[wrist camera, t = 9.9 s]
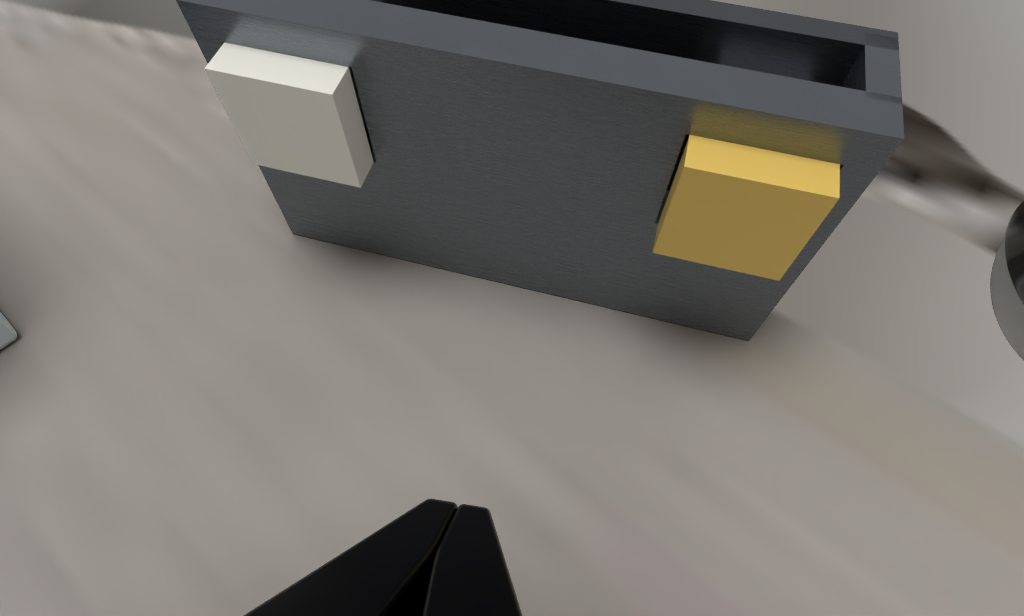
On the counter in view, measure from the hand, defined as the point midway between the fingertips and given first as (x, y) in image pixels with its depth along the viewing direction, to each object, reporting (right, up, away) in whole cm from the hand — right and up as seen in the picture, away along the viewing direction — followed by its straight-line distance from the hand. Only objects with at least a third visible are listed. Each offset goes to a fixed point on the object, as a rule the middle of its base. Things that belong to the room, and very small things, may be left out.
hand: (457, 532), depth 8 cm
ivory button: (-6, +9, +14) cm, 18 cm away
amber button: (+8, +6, +12) cm, 16 cm away
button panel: (+1, +6, +19) cm, 20 cm away
